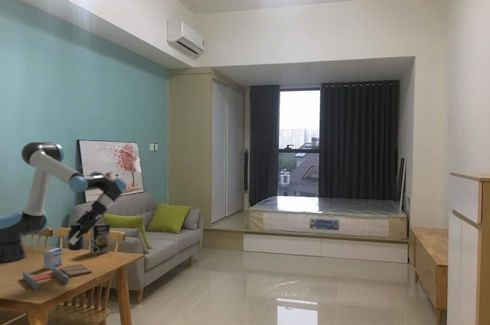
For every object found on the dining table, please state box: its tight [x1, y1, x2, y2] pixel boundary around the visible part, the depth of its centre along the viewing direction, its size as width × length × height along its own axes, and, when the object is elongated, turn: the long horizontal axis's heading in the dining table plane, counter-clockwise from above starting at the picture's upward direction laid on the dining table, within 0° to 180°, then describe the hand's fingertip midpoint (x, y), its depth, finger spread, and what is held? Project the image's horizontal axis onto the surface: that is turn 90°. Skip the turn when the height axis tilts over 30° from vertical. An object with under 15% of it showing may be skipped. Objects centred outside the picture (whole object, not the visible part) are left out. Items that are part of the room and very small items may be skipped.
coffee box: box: [89, 222, 111, 255], centre depth 225 cm, size 9×6×16 cm
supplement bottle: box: [67, 222, 85, 251], centre depth 188 cm, size 7×7×12 cm
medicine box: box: [43, 247, 63, 270], centre depth 197 cm, size 8×4×9 cm, turn 168°
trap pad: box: [32, 272, 55, 282], centre depth 180 cm, size 6×9×1 cm, turn 133°
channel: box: [22, 266, 70, 291], centre depth 176 cm, size 20×13×3 cm
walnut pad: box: [59, 263, 93, 278], centre depth 190 cm, size 14×10×1 cm
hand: (68, 241), depth 186 cm, fingers closed on supplement bottle, 7 cm apart
